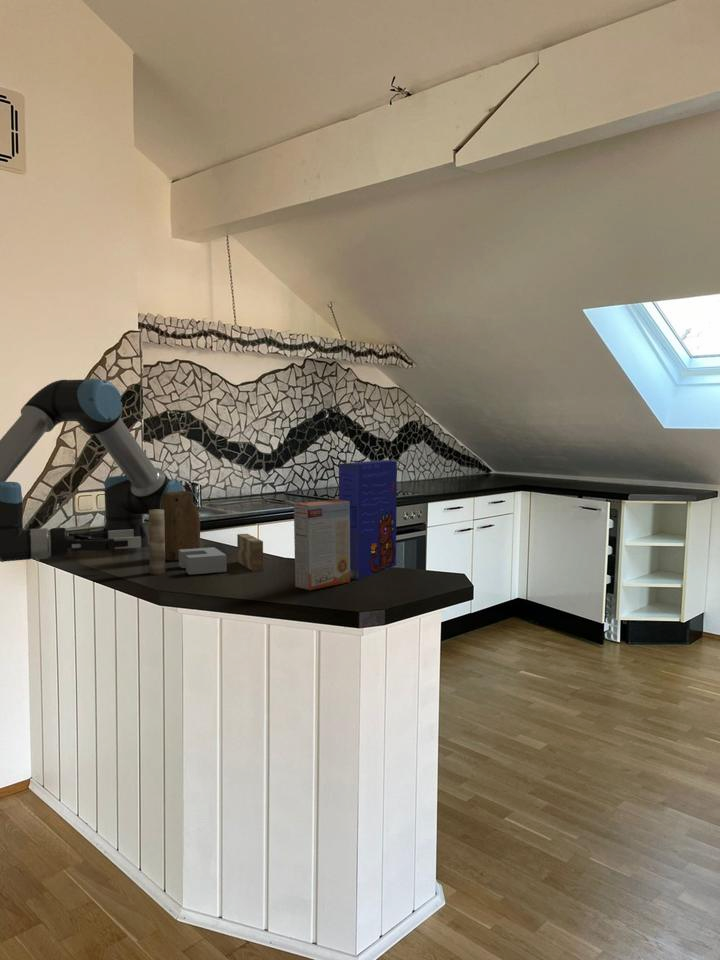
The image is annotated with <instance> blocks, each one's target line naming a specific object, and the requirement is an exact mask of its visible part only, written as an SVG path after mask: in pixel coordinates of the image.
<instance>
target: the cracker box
mask: <svg viewBox="0 0 720 960" xmlns="http://www.w3.org/2000/svg"><path fill="white" fill-rule="evenodd" d="M293 526H294V527H293V529H294V530H293V531H294V533H293V534H294V585H295V586H294V587H295V588H297V589H303V590H306V591H314V590H319V589H322V588H323V589H324V588H327V587H333V586H337V585H342V584H346V583H350V582H351V579H350V502H349V501H343V500H339V499H332V500H331V499H329V500H319V501H309V502H301V503H295V504H293Z"/></svg>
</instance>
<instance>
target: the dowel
mask: <svg viewBox="0 0 720 960" xmlns="http://www.w3.org/2000/svg"><path fill="white" fill-rule="evenodd" d="M148 537H149V544H148V545H149V548H148V550H149V551H148V552H149V575H152V574H153V575H154V576H157V575H165V574H166V559H165V522H164V510H163V509H152V510H149V515H148Z"/></svg>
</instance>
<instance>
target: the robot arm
mask: <svg viewBox="0 0 720 960" xmlns="http://www.w3.org/2000/svg"><path fill="white" fill-rule="evenodd" d="M121 400H122V395H121V393H120V391H119V389H118V387H116V386H115V384H114V383H112V382H110V381H108V380H106V379H99V378H87V379H60V380H55V381H53V382H50V383H48V384H47V385H46V386H44V387H42V388H41V389H40V390H39V391H37V392H36V393H35V394H34V395H33V396H32V397H31V398H29V400H28V401H27V402H26V403H25V404H24V405H23V406H22V407H21V409H20V416H19V417H18V418H17V419H16V421H14V423H13V425H11V426H10V428H9V429H8V430H7V431H6V433H5V434H4V435H2V437H1V438H0V563H5V562H14V561H16V562H17V561H28V560H29V561H30V560H35V561H36V562H40V559H43V560H44V559H48V558H49V556H50V558H52V559H58V558H59V559H60V558H62V559H63V558H66V557H67V556H68V549H71V551H72V552H77V551H79V552H81V551H85V552H86V551H89V552H90V551H92V552H94V551H95V552H99V551H103V552H104V551H105V552H110V553H115V550H123V549H125V550H126V549H139V548H142V547H146V546H148V545H149V533H148V532H147V529H146V527H145V524H144V515H147V516H149V510H152V509H161V504H162V501H161V496H162V494H164V493H168V492H178V491H184V489H183V488H184V487H183V484H182V482H181V481H180V480H178V479H176V478H172V479H171V478H169V477H168V475H167V474H166V473H165V471H164V470H163V469H161V468H160V467H155V465H154V464H153V462H152V461H151V460H150V458H149V457H148V455H147V454H146V452H145V451H144V450H143V448H142V447H141V445H140V444H139V443H138V441H137V440H136V439H135V437H134V436H133V434H132V432H131V431H130V429H129V428H128V427H127V425H126V423H124V421H123V420H122V414H123V411H122V409H123V402H122V401H121ZM63 422H76V423H78V424H79V425H80V426H81V428H82V429H83V430H84V431H85V432H86V433H87V434H89V435H93V436H94V435H95V437H96V438H97V439H98V441H99V442H100V444H101V445H102V446H103V448H104V449H105V450H106V452H107V453H108V454H109V455H110V457H111V458H112V460H113V461H114V462H115V464H116V465H117V467H119V469H120V470H121V472H122V473H123V474H122V475H115V476H108V477H107V478H106V479H105V480H104V489H103V490H104V491H103V492H104V510H105V512H104V513H105V514H104V516H105V524H104V526H103V529H99V530H92V531H85V532H83V531H82V532H75V533H72V532H70V533H68V534H67V529H66V528H65V527H52V528H50V530H49V529H48V528H29V529H24V527H23V525H24V524H23V523H24V521H23V520H24V519H23V494H22V485H21V483H19V482H17V481H7V480H8V479H9V478H10V477H11V475H12V474H13V473H14V471H15V470H16V469H18V467H19V465H20V464H22V462H23V460H24V459H25V458H26V456H28V454H29V453H30V451H32V450H33V448H34V446H36V444H37V443H38V442H39V440H40V439H41V438H42V437H43V435H44V434H45V433H49V432H51V431H52V430H53V429H54V428H55V427H56V426H57V425H59V424H61V423H63Z"/></svg>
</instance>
